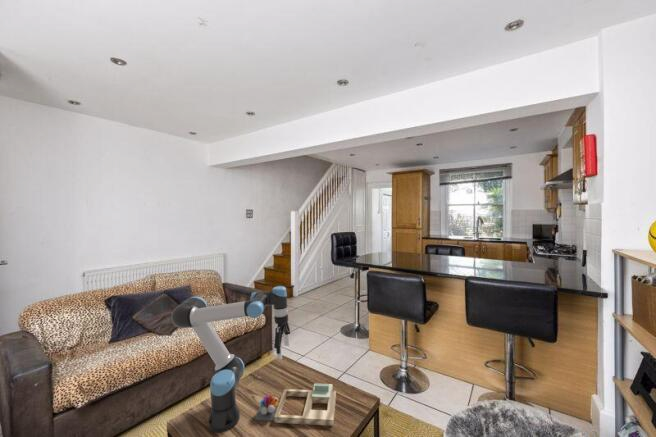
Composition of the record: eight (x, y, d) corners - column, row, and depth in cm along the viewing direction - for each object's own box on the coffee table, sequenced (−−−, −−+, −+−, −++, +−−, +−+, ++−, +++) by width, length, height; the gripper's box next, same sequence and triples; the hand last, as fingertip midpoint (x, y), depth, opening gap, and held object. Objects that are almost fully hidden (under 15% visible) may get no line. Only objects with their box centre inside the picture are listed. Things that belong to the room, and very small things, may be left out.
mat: (254, 419, 141) (254, 418, 141) (261, 404, 152) (261, 403, 152) (275, 420, 140) (275, 419, 140) (281, 405, 151) (281, 404, 151)
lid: (311, 397, 152) (311, 391, 151) (314, 384, 163) (314, 378, 162) (329, 398, 151) (329, 391, 150) (331, 385, 161) (331, 379, 161)
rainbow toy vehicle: (276, 413, 141) (271, 400, 141) (259, 417, 142) (254, 404, 142) (281, 401, 149) (276, 388, 149) (265, 405, 150) (260, 393, 150)
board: (274, 422, 139) (273, 416, 139) (287, 387, 166) (287, 382, 166) (333, 425, 136) (332, 419, 136) (336, 389, 163) (336, 384, 162)
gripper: (280, 324, 140) (282, 365, 141) (293, 306, 165) (295, 340, 166) (266, 324, 141) (268, 364, 142) (281, 306, 166) (283, 340, 167)
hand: (283, 351), depth 154 cm, fingers open, 13 cm apart
